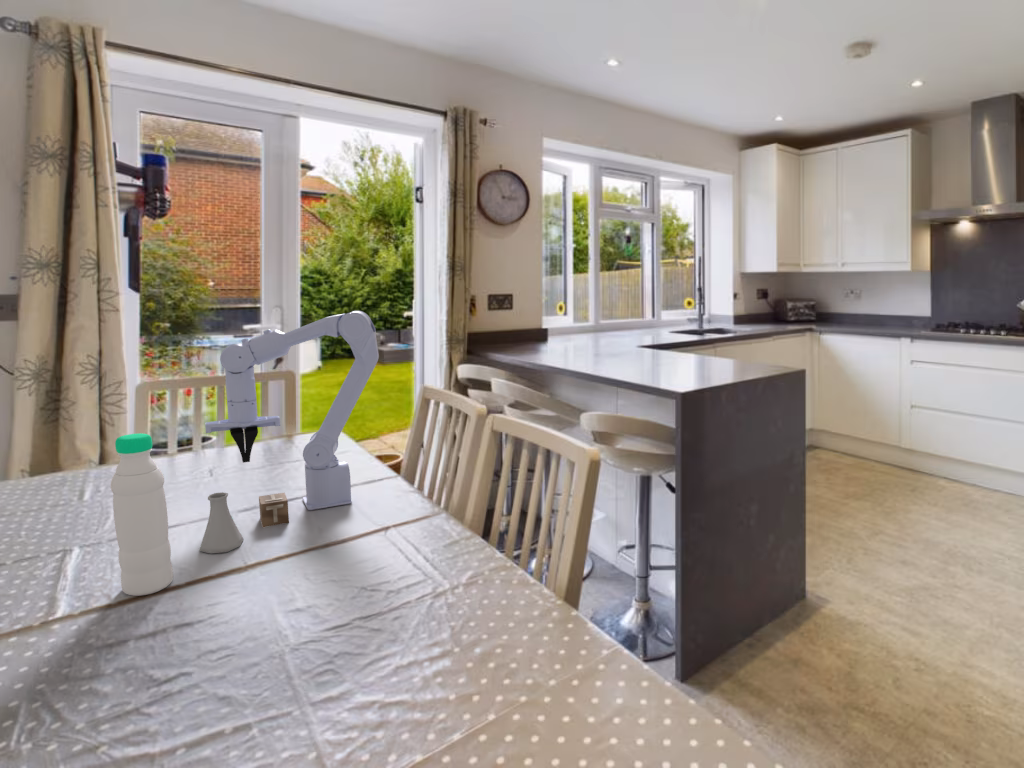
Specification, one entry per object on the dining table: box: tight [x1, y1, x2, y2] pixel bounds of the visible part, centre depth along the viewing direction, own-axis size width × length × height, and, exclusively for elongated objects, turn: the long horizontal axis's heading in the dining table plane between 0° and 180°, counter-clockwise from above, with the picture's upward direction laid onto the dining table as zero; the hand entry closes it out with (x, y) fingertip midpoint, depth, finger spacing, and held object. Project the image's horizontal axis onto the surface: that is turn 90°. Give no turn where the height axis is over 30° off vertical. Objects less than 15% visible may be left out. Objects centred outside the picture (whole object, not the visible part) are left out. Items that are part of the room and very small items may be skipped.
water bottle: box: [110, 432, 174, 597], centre depth 90 cm, size 7×7×25 cm
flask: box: [198, 491, 244, 554], centre depth 106 cm, size 7×7×10 cm
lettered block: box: [258, 492, 290, 528], centre depth 118 cm, size 5×5×5 cm
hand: (246, 461), depth 125 cm, fingers closed
